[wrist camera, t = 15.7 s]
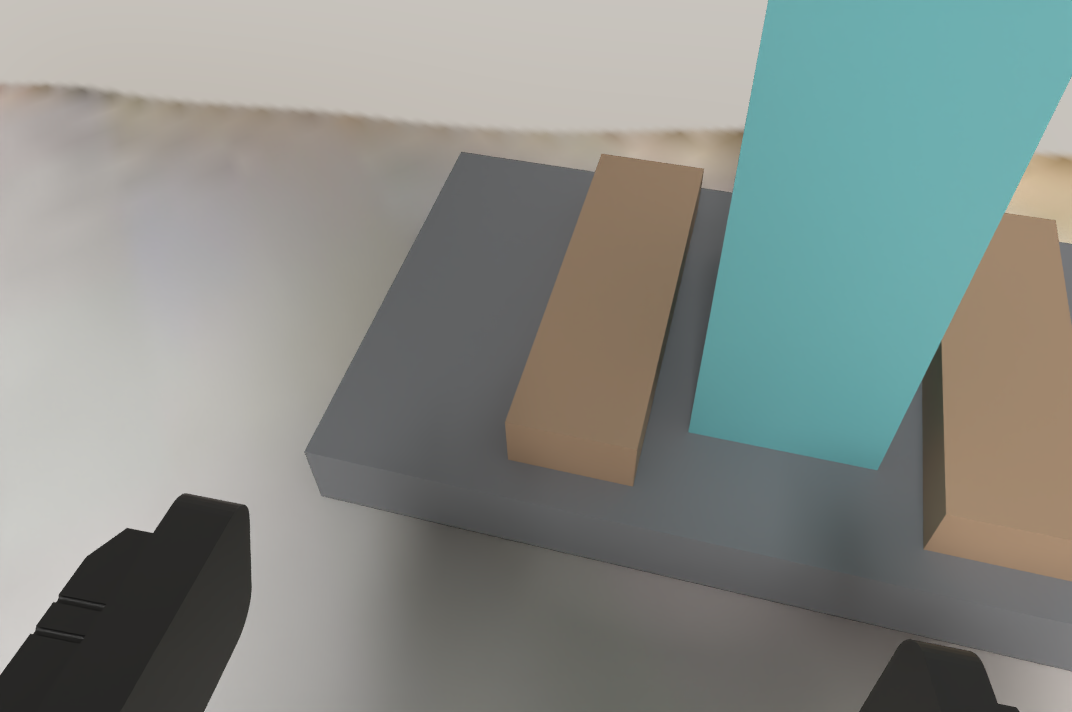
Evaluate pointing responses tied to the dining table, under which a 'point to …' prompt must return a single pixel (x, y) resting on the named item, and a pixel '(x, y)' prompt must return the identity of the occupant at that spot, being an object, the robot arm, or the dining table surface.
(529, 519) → the display stand
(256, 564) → the dining table surface
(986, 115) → the long teal prism
